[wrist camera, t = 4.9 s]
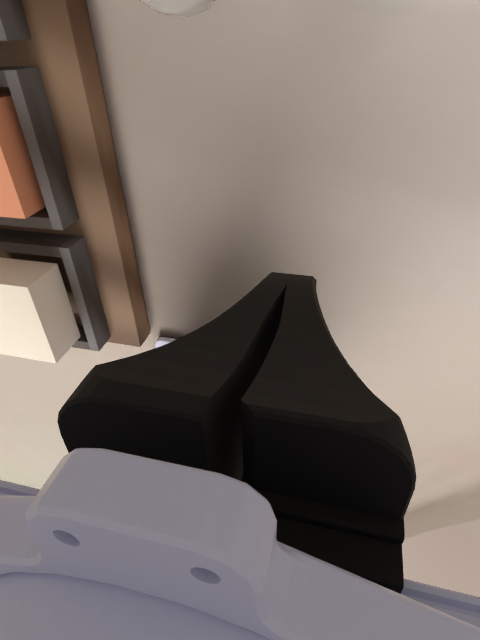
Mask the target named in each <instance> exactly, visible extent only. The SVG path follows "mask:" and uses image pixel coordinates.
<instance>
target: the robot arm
mask: <svg viewBox="0 0 480 640" xmlns="http://www.w3.org/2000/svg"><path fill="white" fill-rule="evenodd" d="M58 425H59V429H60V433H61V436H62V438H63V440H64V443H65V445H66V447H67V450H68V452H69V454H67V455H66V456H64V457H63V458H62V459H61V461H60V462H59V464H58V465H57V467H56V468H55V470H54V471H53V472H52V474H51V475H50V477H49V478H48V480H47V481H46V483H45V484H44V485H43V487H42V488H41V490H39V489H35V488H31V487H27V486H23V485H19V484H15V483H11V482H7V481H3V480H0V640H480V597H476V596H472V595H468V594H464V593H460V592H456V591H452V590H448V589H444V588H440V587H436V586H431V585H427V584H423V583H419V582H415V581H411V580H407V579H403V561H402V543H403V541H404V535H405V534H404V515H405V513H406V510H407V507H408V505H409V502H410V500H411V497H412V494H413V492H414V489H415V482H416V472H415V465H414V460H413V456H412V452H411V448H410V445H409V441H408V438H407V435H406V432H405V430H404V427H403V424H402V422H401V419H400V417H399V416H398V415H397V414H396V413H395V412H394V411H393V410H391V409H390V408H389V407H388V406H387V405H386V404H384V403H383V402H382V401H381V400H380V399H379V398H378V397H376V396H375V395H374V394H373V393H372V392H371V391H370V390H369V389H368V388H367V387H366V385H365V384H364V383H363V382H362V381H361V379H360V378H359V377H358V376H357V374H356V373H355V372H354V371H353V369H352V368H351V367H350V366H349V364H348V363H347V361H346V360H345V358H344V357H343V355H342V354H341V352H340V350H339V349H338V347H337V345H336V344H335V342H334V340H333V338H332V336H331V334H330V332H329V330H328V327H327V325H326V323H325V320H324V318H323V315H322V312H321V309H320V306H319V302H318V298H317V293H316V279H315V278H314V277H313V276H304V275H294V274H284V273H274V272H272V273H270V274H269V275H268V276H267V277H266V278H265V279H263V280H262V281H261V282H260V283H259V284H258V285H257V286H256V287H255V288H254V289H253V290H251V291H250V292H249V293H248V294H247V295H246V296H244V297H243V298H242V299H241V300H240V301H238V302H237V303H236V304H235V305H234V306H232V307H231V308H230V309H228V310H227V311H225V312H224V313H223V314H221V315H220V316H219V317H217V318H216V319H214V320H212V321H211V322H209V323H208V324H206V325H204V326H202V327H201V328H199V329H197V330H195V331H193V332H191V333H189V334H187V335H185V336H183V337H181V338H178V339H173V338H166V337H159V338H158V339H157V340H156V342H155V349H152V350H149V351H146V352H143V353H140V354H137V355H134V356H131V357H127V358H123V359H119V360H116V361H112V362H108V363H104V364H100V365H95V367H94V368H93V369H92V370H91V371H90V372H89V373H88V375H87V376H86V377H85V378H84V379H83V381H82V382H81V383H80V385H79V386H78V387H77V388H76V390H75V391H74V392H73V394H72V395H71V396H70V398H69V399H68V400H67V401H66V403H65V404H64V405H63V407H62V408H61V410H60V411H59V414H58Z"/></svg>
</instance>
